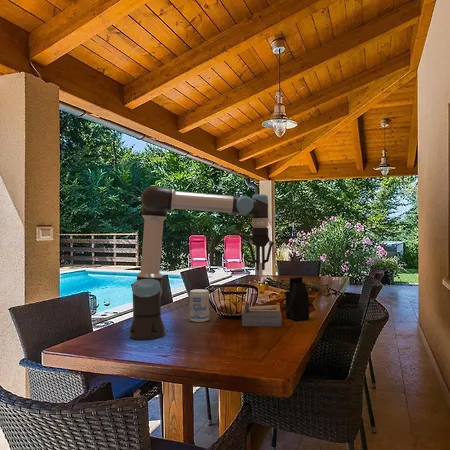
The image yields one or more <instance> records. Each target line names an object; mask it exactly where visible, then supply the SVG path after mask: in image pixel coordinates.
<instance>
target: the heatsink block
mask: <svg viewBox="0 0 450 450" xmlns="http://www.w3.org/2000/svg"><path fill="white" fill-rule="evenodd" d="M275 305H276V308H267V309H252V310H248V307H250V302H245V304H244V309H243V312H242V316H241V326H242V327H282V326H283V325H282V324H283V322H282V321H283V320H282V312H281V308H280V307H281V303H280V302H276V304H275Z"/></svg>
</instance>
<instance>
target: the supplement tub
mask: <svg viewBox="0 0 450 450" xmlns="http://www.w3.org/2000/svg"><path fill="white" fill-rule="evenodd" d="M189 320H190V321H191V322H193V323H202V322H203V323H204V322H207V321H209V320H210V291H209V290H208V289H203V288H202V289H196V288H195V289H192V290H190V291H189Z"/></svg>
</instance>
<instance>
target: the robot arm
mask: <svg viewBox="0 0 450 450" xmlns="http://www.w3.org/2000/svg"><path fill="white" fill-rule="evenodd" d="M140 201H141V202H140V203H141V204H142V206H141V217H142V218H143V219H144V222H143V223H144V224H143V235H142V236H143V237H142V249H141V251H142V252H141V262H140V263H141V264H140V271H139V273H137V275H136V280H134V282H133V283H132V288H131V292H132V322H131V324H130V327H129V333H128V335H129V338H130V339H133V340H136V341H137V340H139V341H142V340H144V341H145V340H146V341H147V340H155V339H160V338H162V337H164V336H165V335H166V327H165V325H164V322H163V319H162V314H161V313H162V309H161V306H162V305H161V297H162V295H163V275H162V274H161V271H160V270H161V258H162V244H163V243H162V242H163V233H164V232H163V231H164V230H163V229H164V222H165V220H166V219H167V218H168V211H171V212H172V211H173V210H175V209H178V210H189V211H203V212H216V213H217V212H218V213H227V215H232V216H236V215H237V216H238V215H239V216H243V215H245V216H247V215H250V216H251V215H252V217H251V218H252V222H251V223H252V227H253V228H252V237H251V240H249V241H247V243H246V244H247V247H248V248H249V252H250V255H251V260H252V262H253V263H254V264H255V263H256V271H258V278H263V271H265V270H266V268H265V267H266V266H265V265H266V263H268V262H269V261H270V256H271V252H272V247H273V246H274V244H275V242H274V241H272V240H271V239H270V237H269V228H268V227H269V197H268V195H267V194H259V193H258V194H253V195H252V197H249V196H245V195H242V196H241V195H240V196H239V195H237V196H236V195H227V194H226V195H225V194H217V193H203V192H191V191H190V192H189V191H179V190H178V191H177V190H176V189H174V188H170V187H164V186H159V185H150V186H148V187H146V188H145V189H144V190H143V191H142V193H141V196H140ZM267 244H268V249H267V254H266V252H265V251H266V250H265V249H266V246H267ZM253 245H254V246H255V247H256V252H254V248H253ZM260 247H261V262H260ZM255 253H256V257H255ZM265 255H266V256H265ZM265 257H266V258H265Z"/></svg>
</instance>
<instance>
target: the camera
mask: <svg viewBox="0 0 450 450" xmlns="http://www.w3.org/2000/svg"><path fill="white" fill-rule="evenodd" d="M303 278H304V277H289V289H288V291H285V292H284V296H285V307H284V310H285V313H284V315H285V317H288V318H290V319H291V320H293V321H294V322H295V321H296V322H298V321H306V320H309V319H310V300H309V299H310V298H309V292H308V291H307V287H306V283H305V282H303Z"/></svg>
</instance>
